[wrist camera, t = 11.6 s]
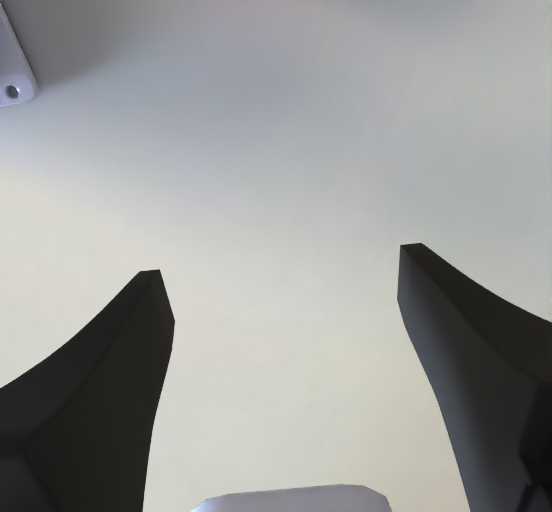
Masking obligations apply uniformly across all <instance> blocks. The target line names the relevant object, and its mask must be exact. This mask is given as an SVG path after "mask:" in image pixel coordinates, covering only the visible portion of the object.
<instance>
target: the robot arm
mask: <svg viewBox="0 0 552 512" xmlns="http://www.w3.org/2000/svg"><path fill="white" fill-rule="evenodd" d="M10 85H12V86H14V87H16V89H17V90H18V93H19V95H18V96H15V95H14V94H12V93H11V91H10V88H9V87H10ZM38 95H39V87H38V84H37V82H36V79H35V77H34V75H33V73H32V71H31V68H30V66H29V64H28V62H27V60H26V57H25V55H24V53H23V51H22V48H21V46H20V44H19V42H18V40H17V37H16V35H15V33H14V31H13V29H12V26H11V24H10V22H9V20H8V18H7V15H6V13H5V11H4V9H3V7H2V4H1V2H0V107H4V106H9V105H14V104H19V103H24V102H29V101H31V100H33V99H35V98H36V97H37V96H38ZM397 300H398V304H399V308H400V311H401V315H402V318H403V321H404V325H405V328H406V330H407V332H408V335H409V337H410V339H411V342H412V344H413V346H414V348H415V351H416V353H417V355H418V357H419V359H420V362H421V364H422V366H423V368H424V371H425V373H426V375H427V377H428V379H429V382H430V384H431V386H432V388H433V391H434V393H435V396H436V398H437V401H438V404H439V407H440V410H441V413H442V416H443V419H444V422H445V425H446V428H447V431H448V435H449V438H450V441H451V444H452V448H453V451H454V454H455V458H456V461H457V464H458V468H459V471H460V475H461V478H462V482H463V485H464V489H465V493H466V496H467V500H468V503H469V507H470V511H471V512H552V322H549V321H547V320H545V319H542V318H540V317H538V316H536V315H534V314H531V313H529V312H527V311H525V310H523V309H521V308H519V307H518V306H516V305H514V304H512V303H510V302H508V301H506V300H504V299H503V298H501V297H499V296H497V295H496V294H494V293H492V292H491V291H489V290H487V289H486V288H484V287H483V286H481V285H479V284H478V283H476V282H475V281H473V280H472V279H470V278H469V277H467V276H466V275H464V274H463V273H462V272H460V271H459V270H457V269H456V268H455V267H453V266H452V265H451V264H449V263H448V262H446V261H445V260H444V259H442V258H441V257H440V256H438V255H437V254H436V253H434V252H433V251H432V250H430V249H429V248H428V247H426V246H425V245H424V244H422V243H415V244H406V245H400V260H399V277H398V294H397ZM174 325H175V320H174V316H173V313H172V309H171V306H170V303H169V299H168V296H167V292H166V289H165V286H164V282H163V279H162V275H161V272H160V269H159V270H149V271H140V272H139V273H138V274H137V275H136V276H135V277H134V278H133V279H132V280H131V281H130V282H129V283H128V284H127V285H126V286H125V287H124V288H123V289H122V290H121V291H120V292H119V293H118V294H117V295H116V296H115V297H114V298H113V299H112V300H111V301H110V302H109V303H108V305H107V306H106V307H105V308H104V309H103V310H102V311H101V312H100V313H99V314H98V315H96V316H95V317H94V318H93V319H92V320H91V321H90V322H89V323H88V324H87V325H86V326H85V327H84V328H82V329H81V330H80V331H79V332H78V333H77V334H76V335H75V336H74V337H72V338H71V339H70V340H69V341H68V342H66V343H65V344H64V345H63V346H62V347H60V348H59V349H58V350H56V351H55V352H54V353H52V354H51V355H50V356H49V357H47V358H46V359H44V360H43V361H42V362H40V363H39V364H37V365H36V366H34V367H33V368H31V369H30V370H28V371H27V372H25V373H24V374H22V375H21V376H19V377H18V378H16V379H15V380H13V381H12V382H10V383H8V384H7V385H5V386H3V387H2V388H0V512H142V511H143V501H144V491H145V483H146V474H147V466H148V458H149V451H150V444H151V437H152V430H153V424H154V420H155V415H156V411H157V407H158V403H159V399H160V395H161V391H162V387H163V384H164V380H165V376H166V372H167V368H168V364H169V360H170V356H171V351H172V344H173V336H174ZM191 512H392V509H391V507H390V505H389V503H388V501H387V498H386V496H384V495H382V494H380V493H378V492H376V491H374V490H372V489H370V488H368V487H365V486H362V485H345V484H337V485H326V486H314V487H303V488H291V489H280V490H268V491H257V492H245V493H234V494H226V495H222V496H218V497H214V498H210V499H206V500H205V501H204V502H202V503H201V504H200V505H199V506H197V507H196V508H195V509H193V510H192V511H191Z"/></svg>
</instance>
